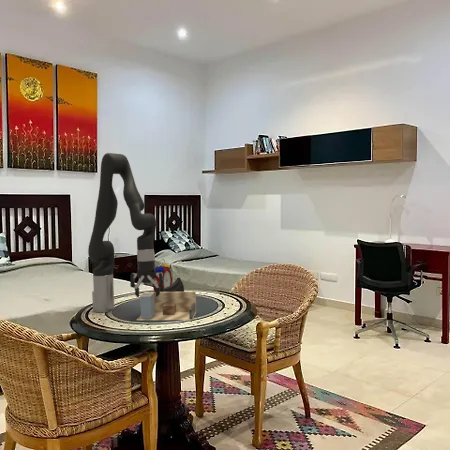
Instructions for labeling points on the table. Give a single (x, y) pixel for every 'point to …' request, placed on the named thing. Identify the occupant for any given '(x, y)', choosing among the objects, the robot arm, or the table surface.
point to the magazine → (174, 287)
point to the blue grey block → (147, 305)
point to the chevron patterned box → (174, 306)
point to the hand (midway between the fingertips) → (147, 296)
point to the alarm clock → (166, 275)
